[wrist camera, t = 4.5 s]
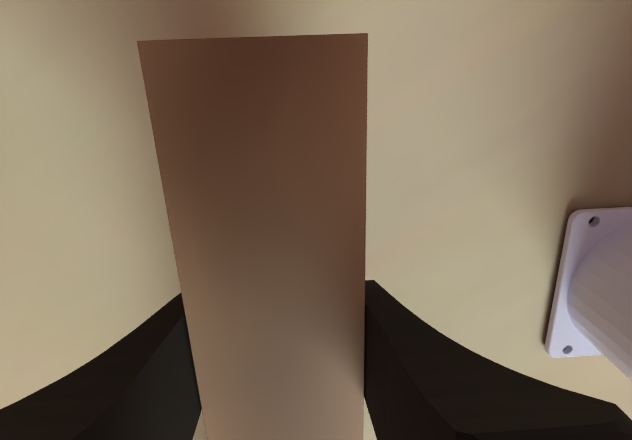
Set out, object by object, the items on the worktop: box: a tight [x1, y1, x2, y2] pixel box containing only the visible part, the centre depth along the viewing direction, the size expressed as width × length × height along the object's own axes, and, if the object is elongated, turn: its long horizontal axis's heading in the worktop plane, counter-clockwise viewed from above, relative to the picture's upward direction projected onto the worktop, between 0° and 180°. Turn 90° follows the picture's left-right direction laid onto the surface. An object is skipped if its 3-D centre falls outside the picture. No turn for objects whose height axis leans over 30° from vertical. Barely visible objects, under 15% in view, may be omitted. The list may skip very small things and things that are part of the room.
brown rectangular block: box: [137, 33, 368, 440], centre depth 12 cm, size 5×18×4 cm, turn 2°
